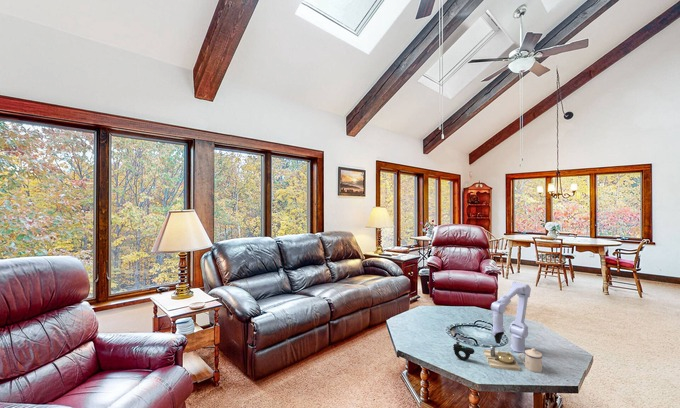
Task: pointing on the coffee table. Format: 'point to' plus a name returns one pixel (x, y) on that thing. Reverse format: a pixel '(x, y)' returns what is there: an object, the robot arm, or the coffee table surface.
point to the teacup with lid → (532, 360)
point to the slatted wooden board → (497, 364)
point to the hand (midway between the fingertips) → (498, 343)
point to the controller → (464, 349)
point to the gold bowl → (502, 356)
